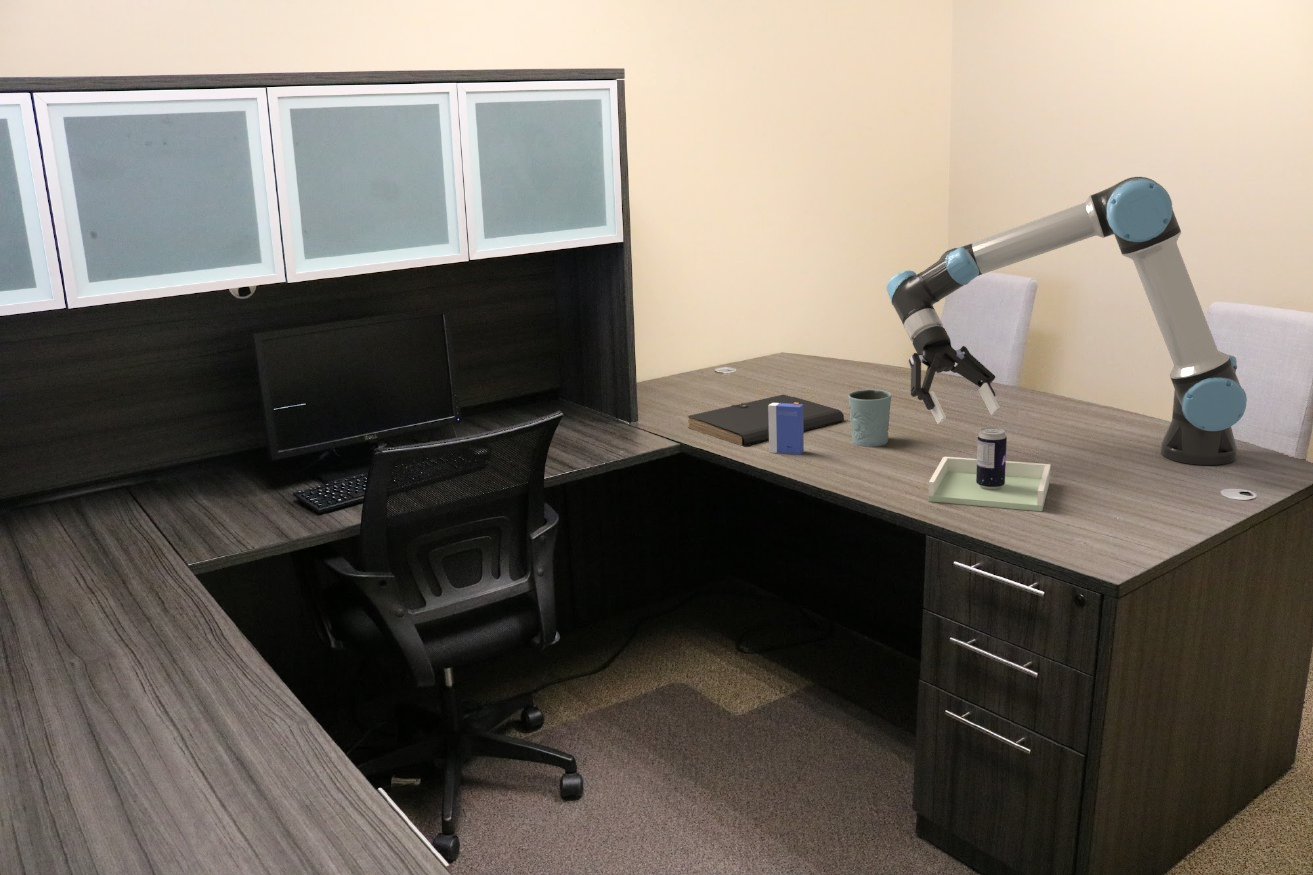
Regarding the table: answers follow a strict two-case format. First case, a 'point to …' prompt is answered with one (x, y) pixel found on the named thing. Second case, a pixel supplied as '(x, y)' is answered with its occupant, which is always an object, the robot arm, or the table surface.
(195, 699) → the table surface
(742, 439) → the leather journal
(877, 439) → the embossed teal cup
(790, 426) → the walkman
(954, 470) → the box
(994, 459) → the beverage can
